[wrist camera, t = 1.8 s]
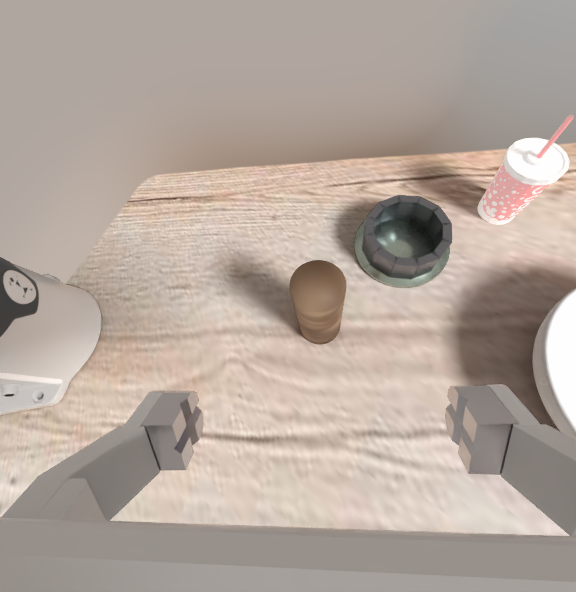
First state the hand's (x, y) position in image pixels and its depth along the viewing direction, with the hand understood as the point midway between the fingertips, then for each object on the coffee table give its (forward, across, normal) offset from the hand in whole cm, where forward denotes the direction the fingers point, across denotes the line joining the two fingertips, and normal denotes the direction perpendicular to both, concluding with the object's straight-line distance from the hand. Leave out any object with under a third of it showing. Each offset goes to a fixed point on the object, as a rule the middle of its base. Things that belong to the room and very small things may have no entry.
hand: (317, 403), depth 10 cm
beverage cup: (+38, -24, +1) cm, 45 cm away
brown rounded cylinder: (+26, 0, +11) cm, 29 cm away
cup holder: (+34, -11, +4) cm, 36 cm away
